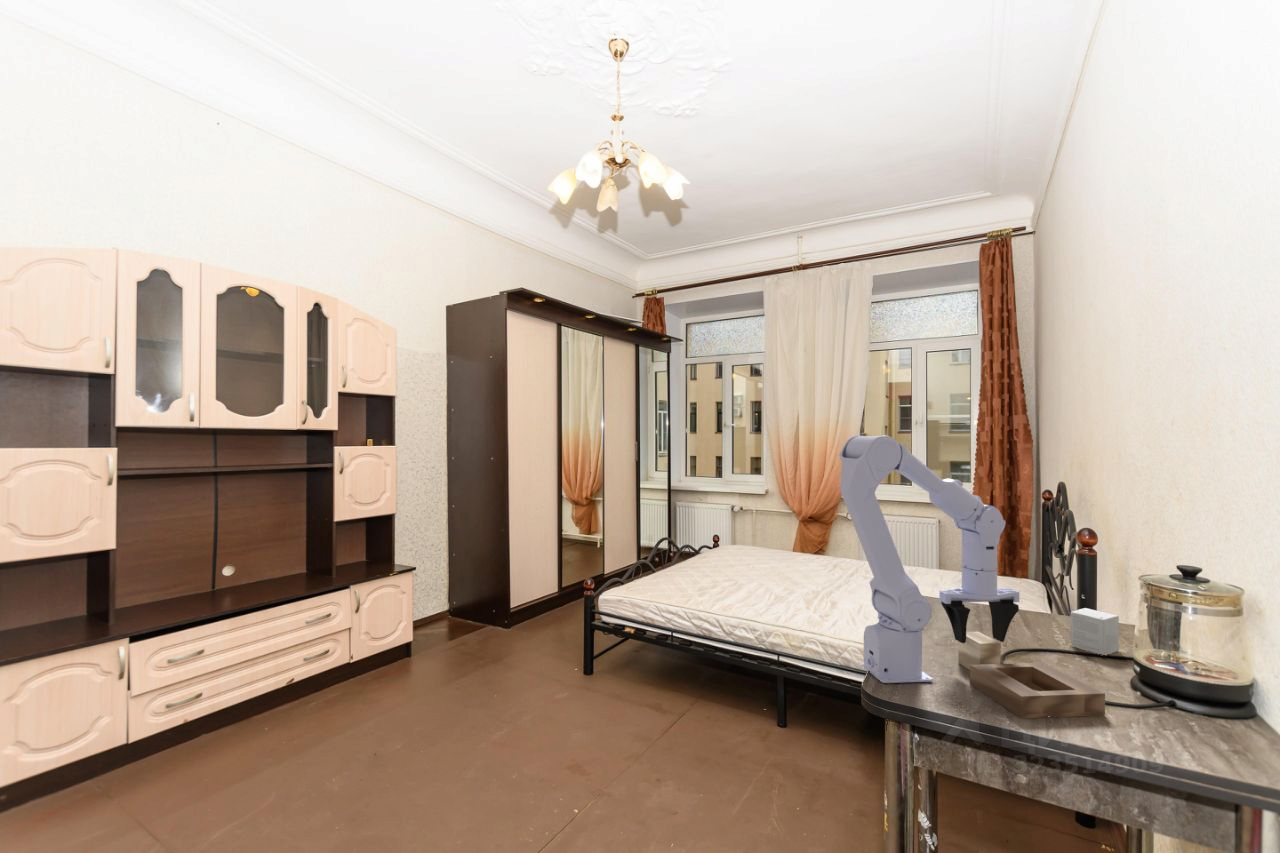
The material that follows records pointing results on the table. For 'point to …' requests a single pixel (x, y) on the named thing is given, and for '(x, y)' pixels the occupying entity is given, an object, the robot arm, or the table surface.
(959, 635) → the robot arm
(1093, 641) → the product box
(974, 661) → the beige wooden block
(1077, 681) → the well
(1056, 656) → the table surface
